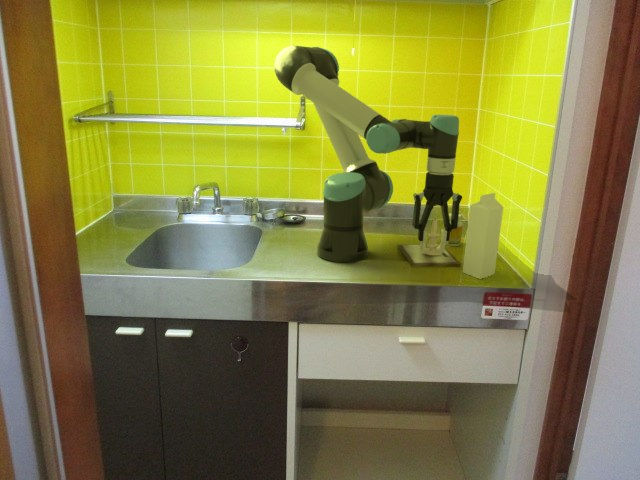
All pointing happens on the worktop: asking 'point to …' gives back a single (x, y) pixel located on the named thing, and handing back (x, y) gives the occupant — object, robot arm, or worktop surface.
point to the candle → (433, 240)
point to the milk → (483, 237)
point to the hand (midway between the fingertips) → (432, 251)
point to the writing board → (427, 257)
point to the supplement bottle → (455, 233)
